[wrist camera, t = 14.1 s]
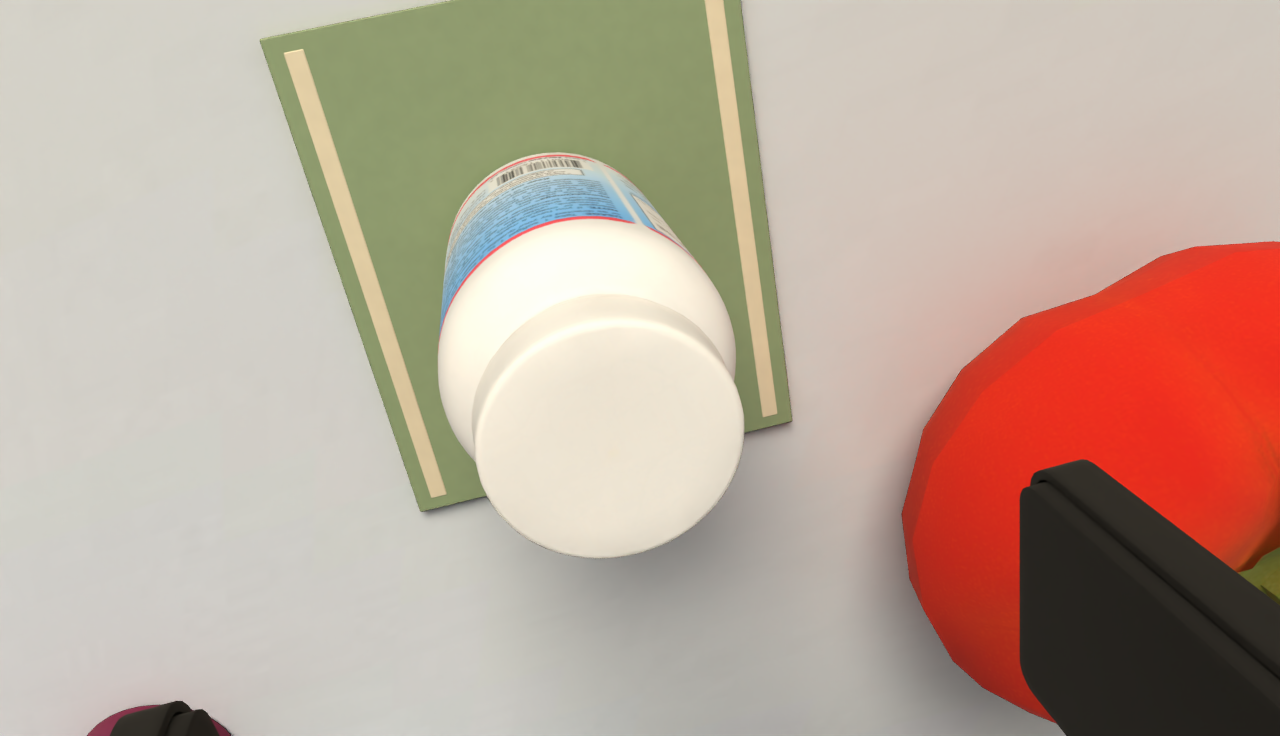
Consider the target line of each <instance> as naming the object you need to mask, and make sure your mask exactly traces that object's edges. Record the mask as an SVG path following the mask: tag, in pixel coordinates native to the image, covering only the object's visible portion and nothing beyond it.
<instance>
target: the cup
mask: <svg viewBox="0 0 1280 736" xmlns="http://www.w3.org/2000/svg"><path fill="white" fill-rule="evenodd" d="M156 706H160V705H150V706H141V707H135V708H131V709H128V710H124V711H121V712H119V713H117V714H114V715H112V716H110V717H108V718H107V719H105V720H104V721H102V722H101V723H99V724H98V725H96V726H95V727H94V728H93V729H92V731H91V732H90V733H89V734H88V735H87V736H110V734H111V731H112V729H113V727H114V726H115V724H116V722H117V721H118V719H119V718H121V717H122V716H124V715H126V714H130V713H133V712H137V711H141V710H145V709H148V708H152V707H156ZM211 720H212V722H213V724H214V725H215V727H216V729H217V731H218V733H219V735H220V736H231V735H230V734H229V733H228V732H227V731H226V729H225V728H223V727H222V726H221V725H220V724H218V723H217V722H216V721H214V720H213V719H211Z"/></svg>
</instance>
